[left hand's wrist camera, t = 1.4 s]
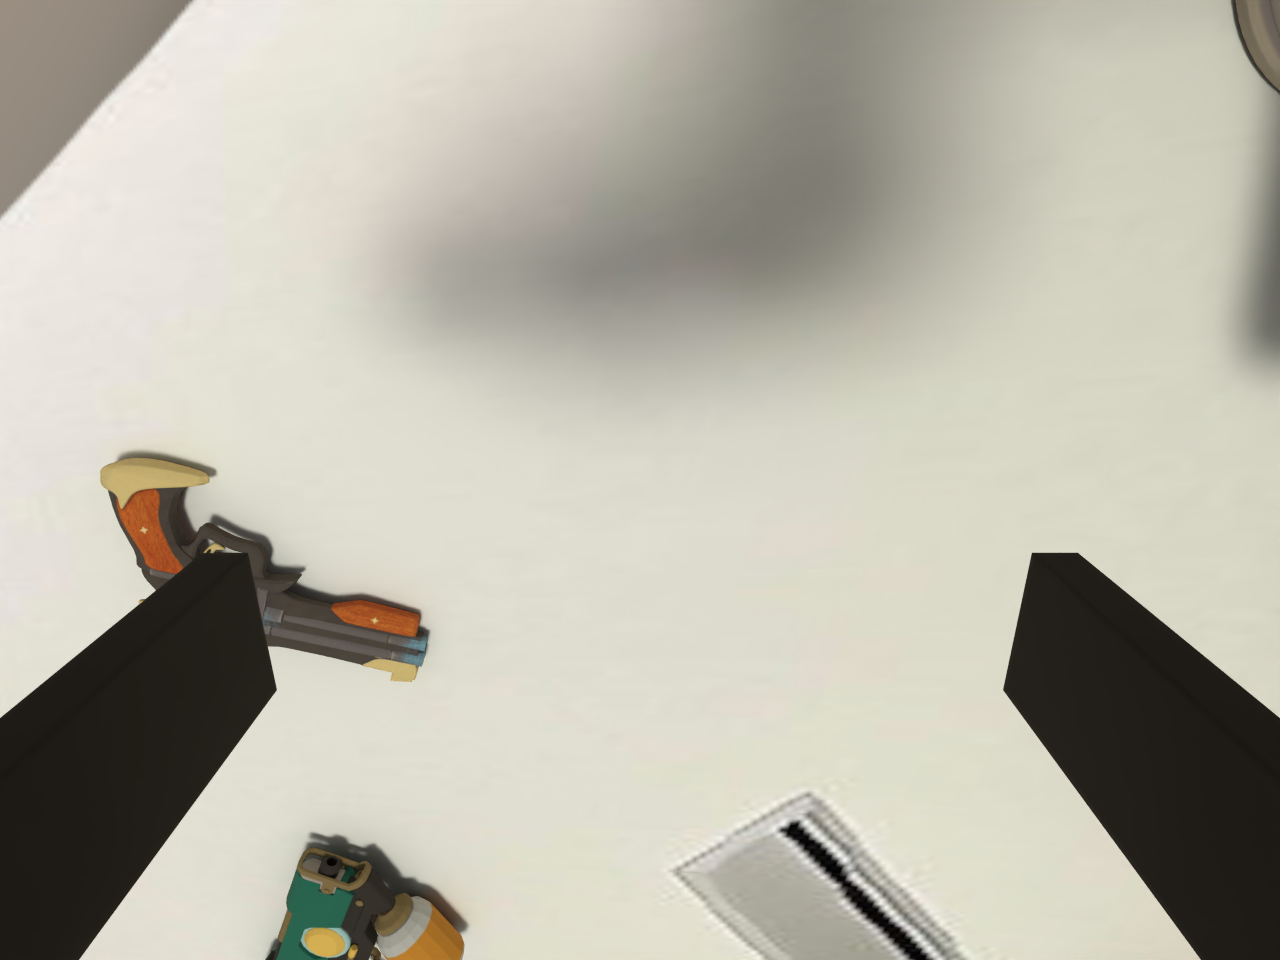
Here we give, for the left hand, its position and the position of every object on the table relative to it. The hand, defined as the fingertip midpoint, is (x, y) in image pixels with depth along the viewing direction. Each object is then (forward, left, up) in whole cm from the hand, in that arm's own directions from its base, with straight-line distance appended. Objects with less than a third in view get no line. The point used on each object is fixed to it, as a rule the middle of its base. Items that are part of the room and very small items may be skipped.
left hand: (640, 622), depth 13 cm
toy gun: (+25, -3, -29) cm, 38 cm away
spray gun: (+44, +21, -29) cm, 56 cm away
